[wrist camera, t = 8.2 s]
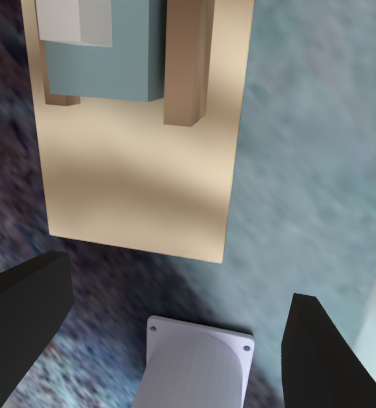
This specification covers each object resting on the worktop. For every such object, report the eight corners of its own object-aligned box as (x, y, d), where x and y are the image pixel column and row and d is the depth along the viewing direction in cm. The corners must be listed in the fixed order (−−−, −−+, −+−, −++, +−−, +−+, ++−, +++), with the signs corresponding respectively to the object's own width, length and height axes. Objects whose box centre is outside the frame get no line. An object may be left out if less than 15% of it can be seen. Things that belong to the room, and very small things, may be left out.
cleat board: (223, 255, 21) (213, 305, 17) (57, 228, 23) (9, 266, 19) (274, -156, 13) (282, -273, 9) (16, -144, 15) (-86, -236, 11)
